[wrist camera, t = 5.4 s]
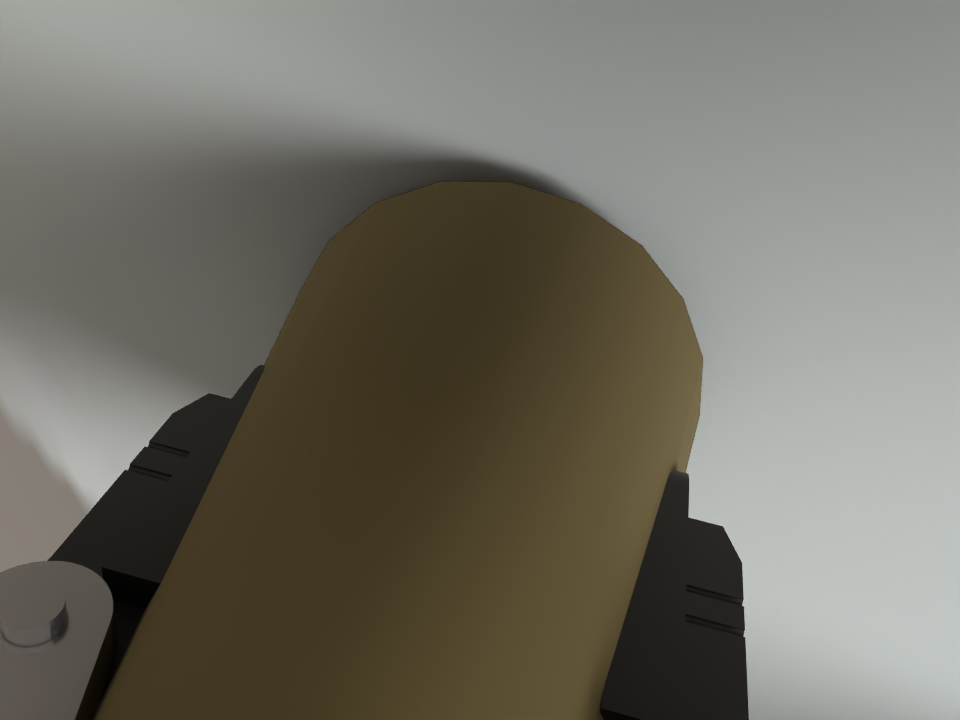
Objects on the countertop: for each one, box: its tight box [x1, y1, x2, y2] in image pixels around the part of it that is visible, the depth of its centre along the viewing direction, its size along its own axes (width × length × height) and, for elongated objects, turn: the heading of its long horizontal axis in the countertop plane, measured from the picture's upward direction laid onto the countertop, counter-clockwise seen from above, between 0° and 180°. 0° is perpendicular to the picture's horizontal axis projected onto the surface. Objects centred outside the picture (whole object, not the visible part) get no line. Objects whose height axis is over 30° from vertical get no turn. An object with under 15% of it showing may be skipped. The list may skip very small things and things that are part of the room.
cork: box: [92, 182, 703, 720], centre depth 9 cm, size 6×6×11 cm
